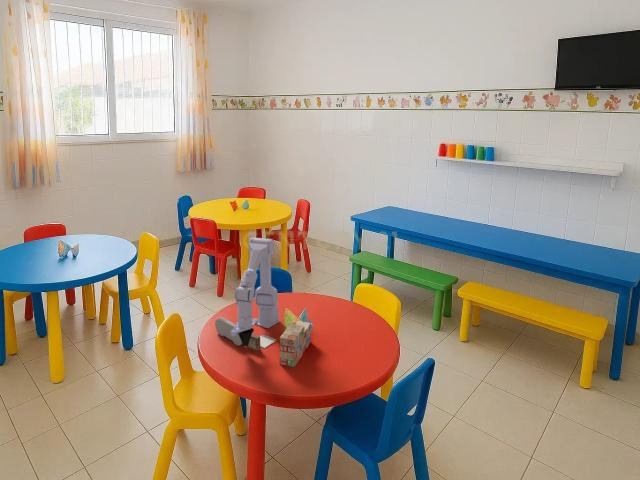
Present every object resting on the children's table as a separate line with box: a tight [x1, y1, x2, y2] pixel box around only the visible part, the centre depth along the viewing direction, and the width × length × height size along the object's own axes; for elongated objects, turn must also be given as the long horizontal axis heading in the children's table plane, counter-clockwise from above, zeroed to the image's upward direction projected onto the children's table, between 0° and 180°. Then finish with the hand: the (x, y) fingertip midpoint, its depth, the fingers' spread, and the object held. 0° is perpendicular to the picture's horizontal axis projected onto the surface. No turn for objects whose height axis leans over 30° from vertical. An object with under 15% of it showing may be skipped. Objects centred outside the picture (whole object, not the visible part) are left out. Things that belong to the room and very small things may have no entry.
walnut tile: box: [245, 333, 261, 352], centre depth 193 cm, size 2×6×6 cm, turn 57°
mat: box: [259, 334, 277, 349], centre depth 199 cm, size 8×8×1 cm
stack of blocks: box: [279, 320, 312, 368], centre depth 190 cm, size 21×6×12 cm, turn 164°
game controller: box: [214, 316, 243, 347], centre depth 200 cm, size 20×2×8 cm, turn 47°
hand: (245, 345), depth 189 cm, fingers closed
